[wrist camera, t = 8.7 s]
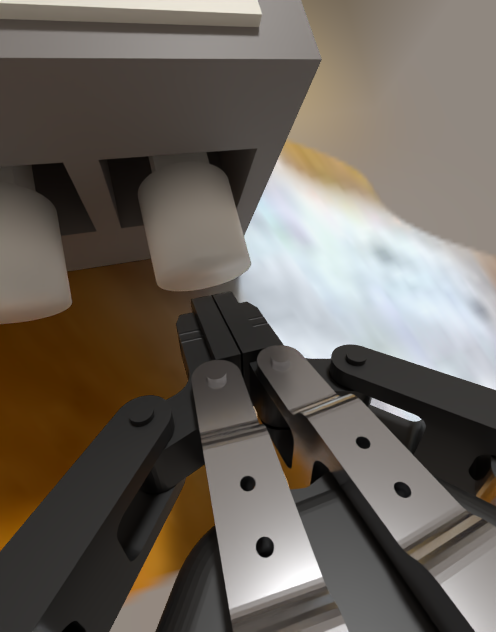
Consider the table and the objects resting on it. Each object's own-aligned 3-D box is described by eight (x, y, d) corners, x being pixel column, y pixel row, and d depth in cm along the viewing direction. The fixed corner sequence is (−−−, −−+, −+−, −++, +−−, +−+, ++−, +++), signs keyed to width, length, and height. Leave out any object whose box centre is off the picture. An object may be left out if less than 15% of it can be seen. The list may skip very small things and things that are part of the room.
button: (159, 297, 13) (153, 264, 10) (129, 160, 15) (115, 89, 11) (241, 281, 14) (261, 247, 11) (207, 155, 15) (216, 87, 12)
